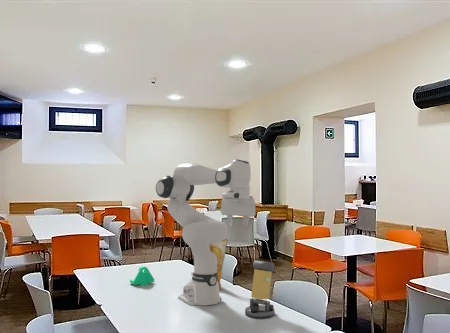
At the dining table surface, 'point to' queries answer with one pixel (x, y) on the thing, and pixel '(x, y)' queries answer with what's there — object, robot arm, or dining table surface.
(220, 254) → the pancake mix bag
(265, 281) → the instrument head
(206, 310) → the dining table surface
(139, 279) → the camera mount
